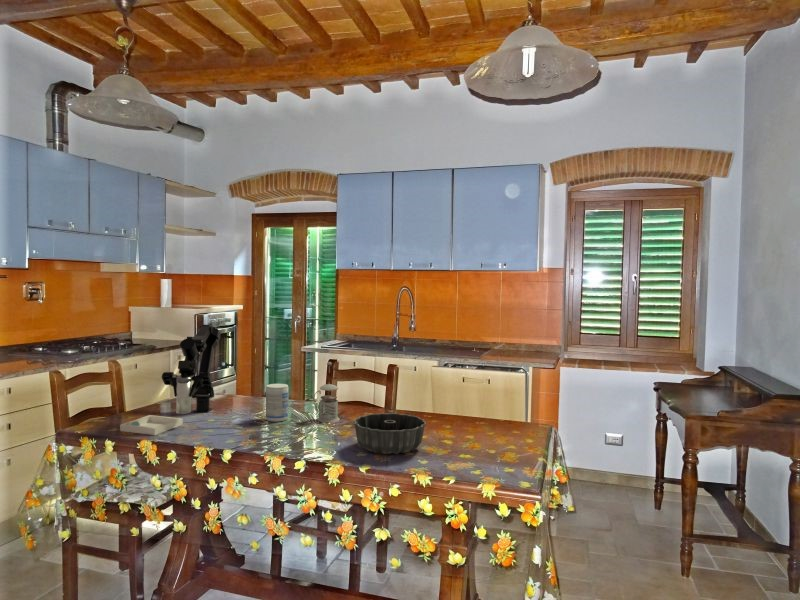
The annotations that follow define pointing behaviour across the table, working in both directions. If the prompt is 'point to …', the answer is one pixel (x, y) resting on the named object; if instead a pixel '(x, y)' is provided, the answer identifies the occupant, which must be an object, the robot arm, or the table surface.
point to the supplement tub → (276, 402)
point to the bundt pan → (389, 432)
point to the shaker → (183, 394)
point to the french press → (328, 404)
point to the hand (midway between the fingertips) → (182, 396)
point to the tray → (152, 425)
